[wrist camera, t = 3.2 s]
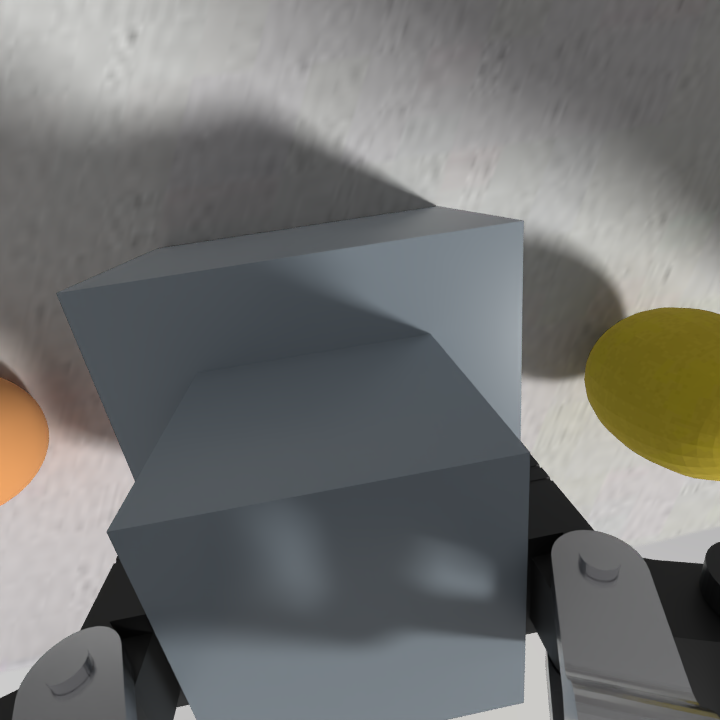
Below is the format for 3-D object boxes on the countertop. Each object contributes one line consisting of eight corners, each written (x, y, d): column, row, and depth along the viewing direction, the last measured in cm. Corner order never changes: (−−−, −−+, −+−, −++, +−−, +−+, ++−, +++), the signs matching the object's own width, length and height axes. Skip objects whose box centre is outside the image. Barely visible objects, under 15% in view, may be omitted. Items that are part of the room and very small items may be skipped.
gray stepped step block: (437, 206, 16) (723, 254, 5) (451, 438, 20) (627, 745, 9) (157, 248, 15) (-202, 405, 4) (229, 479, 19) (132, 859, 8)
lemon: (565, 283, 18) (750, 355, 10) (685, 290, 18) (938, 361, 11) (535, 403, 20) (672, 534, 12) (644, 404, 20) (834, 528, 13)
